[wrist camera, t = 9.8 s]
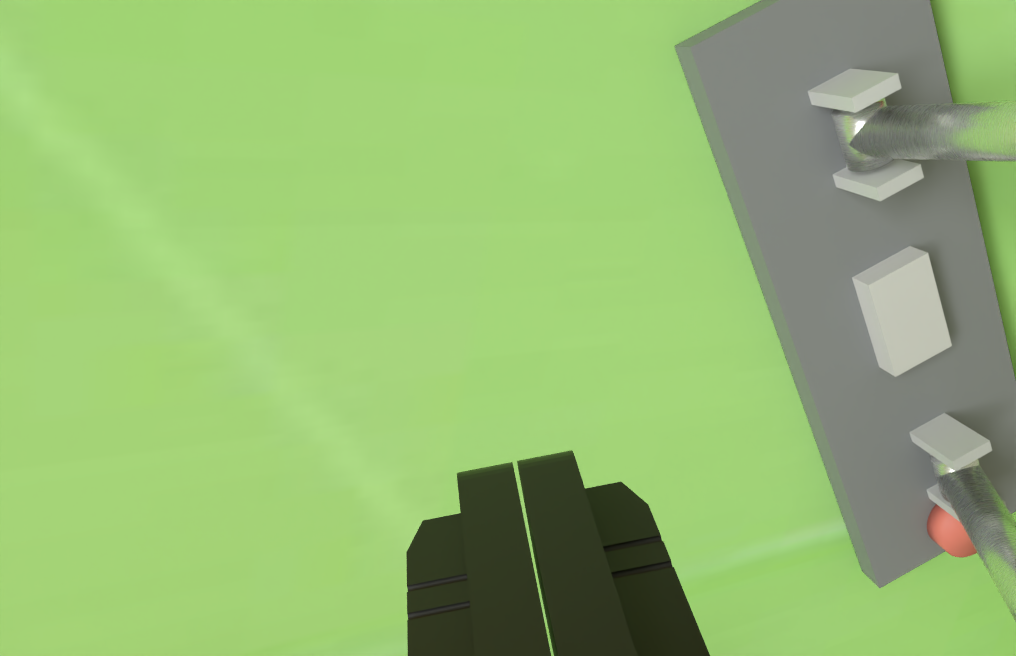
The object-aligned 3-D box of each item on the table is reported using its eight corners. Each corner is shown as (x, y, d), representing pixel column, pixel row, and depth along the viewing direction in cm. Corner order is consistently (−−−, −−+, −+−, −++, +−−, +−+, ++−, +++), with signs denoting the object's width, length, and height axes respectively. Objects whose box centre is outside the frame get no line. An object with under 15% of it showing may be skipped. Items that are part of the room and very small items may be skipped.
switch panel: (862, 571, 46) (917, 625, 42) (674, 46, 34) (726, 50, 30) (1019, 482, 47) (1089, 527, 43) (889, -68, 35) (969, -78, 31)
